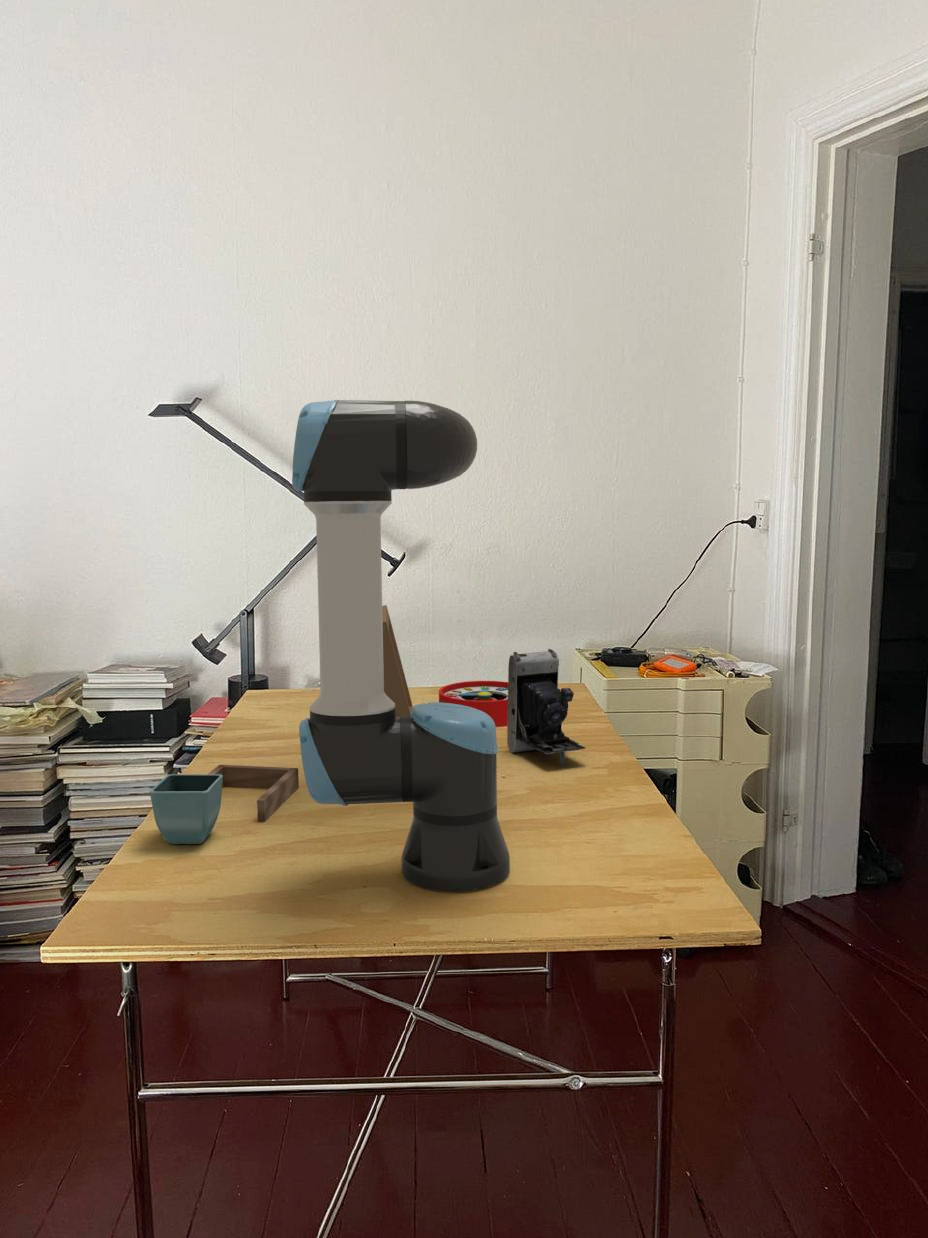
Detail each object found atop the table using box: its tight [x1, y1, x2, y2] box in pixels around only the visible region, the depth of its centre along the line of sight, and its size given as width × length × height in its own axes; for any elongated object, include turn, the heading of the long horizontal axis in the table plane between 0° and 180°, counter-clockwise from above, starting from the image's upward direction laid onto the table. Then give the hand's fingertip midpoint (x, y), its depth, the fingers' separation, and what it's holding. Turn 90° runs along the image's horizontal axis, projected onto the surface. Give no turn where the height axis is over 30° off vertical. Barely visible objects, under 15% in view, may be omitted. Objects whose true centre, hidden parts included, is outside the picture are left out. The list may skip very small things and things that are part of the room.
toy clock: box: [438, 680, 508, 728], centre depth 234 cm, size 20×6×20 cm
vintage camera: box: [506, 648, 587, 768], centre depth 200 cm, size 10×16×20 cm, turn 24°
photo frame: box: [382, 604, 414, 717], centre depth 220 cm, size 15×22×25 cm
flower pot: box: [149, 773, 223, 845], centre depth 161 cm, size 9×9×9 cm
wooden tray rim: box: [207, 764, 300, 823], centre depth 178 cm, size 17×14×4 cm
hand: (333, 650), depth 182 cm, fingers closed
